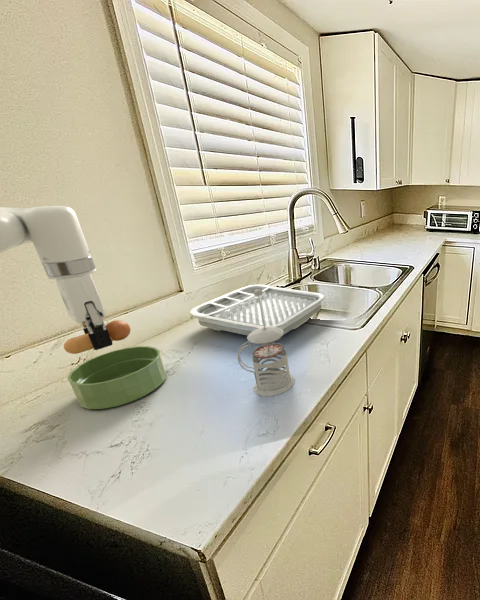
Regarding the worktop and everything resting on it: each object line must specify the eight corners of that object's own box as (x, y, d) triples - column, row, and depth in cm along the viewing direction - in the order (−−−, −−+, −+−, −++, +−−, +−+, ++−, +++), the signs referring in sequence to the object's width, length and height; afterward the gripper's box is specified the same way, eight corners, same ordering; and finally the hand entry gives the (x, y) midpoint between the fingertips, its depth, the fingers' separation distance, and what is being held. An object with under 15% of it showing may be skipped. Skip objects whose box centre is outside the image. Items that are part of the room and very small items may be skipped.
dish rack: (276, 352, 96) (272, 328, 93) (186, 333, 108) (180, 311, 105) (332, 312, 123) (330, 292, 120) (256, 301, 135) (252, 282, 132)
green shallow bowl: (89, 422, 69) (77, 394, 67) (71, 392, 79) (60, 367, 76) (178, 383, 82) (170, 359, 79) (153, 362, 91) (145, 340, 89)
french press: (296, 390, 78) (281, 293, 70) (243, 402, 75) (221, 300, 66) (293, 369, 87) (280, 280, 78) (246, 378, 83) (226, 286, 74)
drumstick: (70, 359, 69) (61, 339, 67) (65, 352, 72) (56, 333, 70) (136, 338, 78) (129, 320, 76) (129, 333, 81) (123, 315, 79)
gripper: (38, 265, 70) (70, 341, 77) (53, 278, 61) (89, 363, 67) (84, 258, 75) (111, 329, 82) (104, 269, 66) (133, 348, 73)
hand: (100, 343), depth 75 cm, fingers closed on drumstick, 3 cm apart
